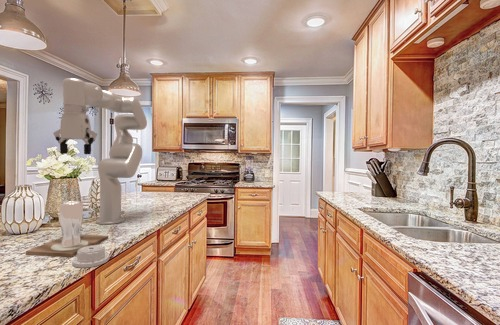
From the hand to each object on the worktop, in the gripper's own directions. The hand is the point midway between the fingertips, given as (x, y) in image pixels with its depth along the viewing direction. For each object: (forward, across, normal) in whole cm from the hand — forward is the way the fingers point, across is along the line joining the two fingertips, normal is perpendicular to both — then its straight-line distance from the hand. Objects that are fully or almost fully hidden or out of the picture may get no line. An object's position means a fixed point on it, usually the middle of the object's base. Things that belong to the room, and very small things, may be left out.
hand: (75, 153), depth 108 cm
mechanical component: (+33, -22, +25) cm, 47 cm away
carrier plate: (+33, -6, +12) cm, 36 cm away
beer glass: (+32, -8, +14) cm, 36 cm away
